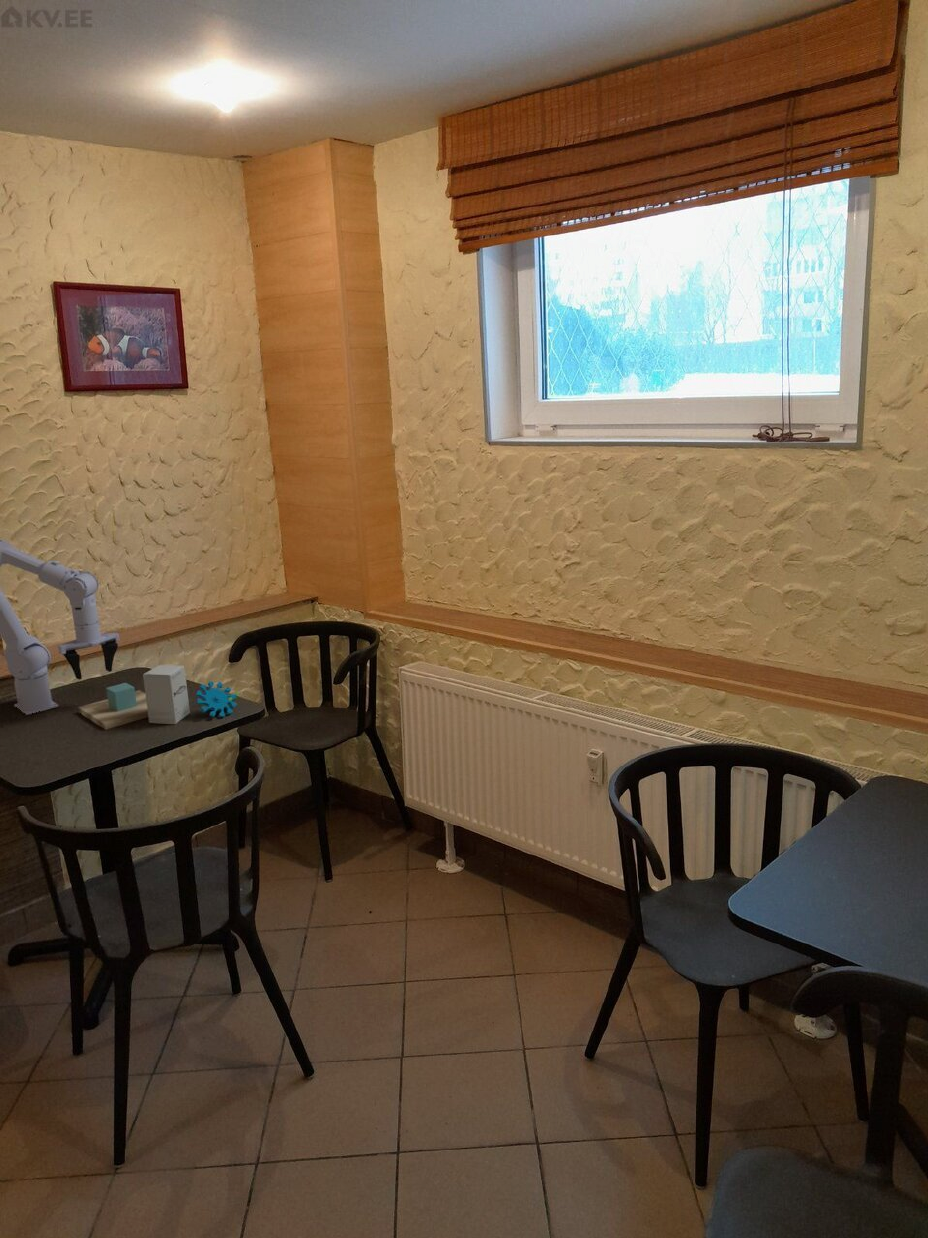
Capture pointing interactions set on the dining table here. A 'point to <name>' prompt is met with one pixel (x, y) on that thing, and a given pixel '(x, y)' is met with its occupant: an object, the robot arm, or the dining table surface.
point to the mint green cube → (121, 697)
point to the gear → (216, 699)
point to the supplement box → (166, 694)
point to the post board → (115, 712)
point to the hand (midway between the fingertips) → (94, 674)
